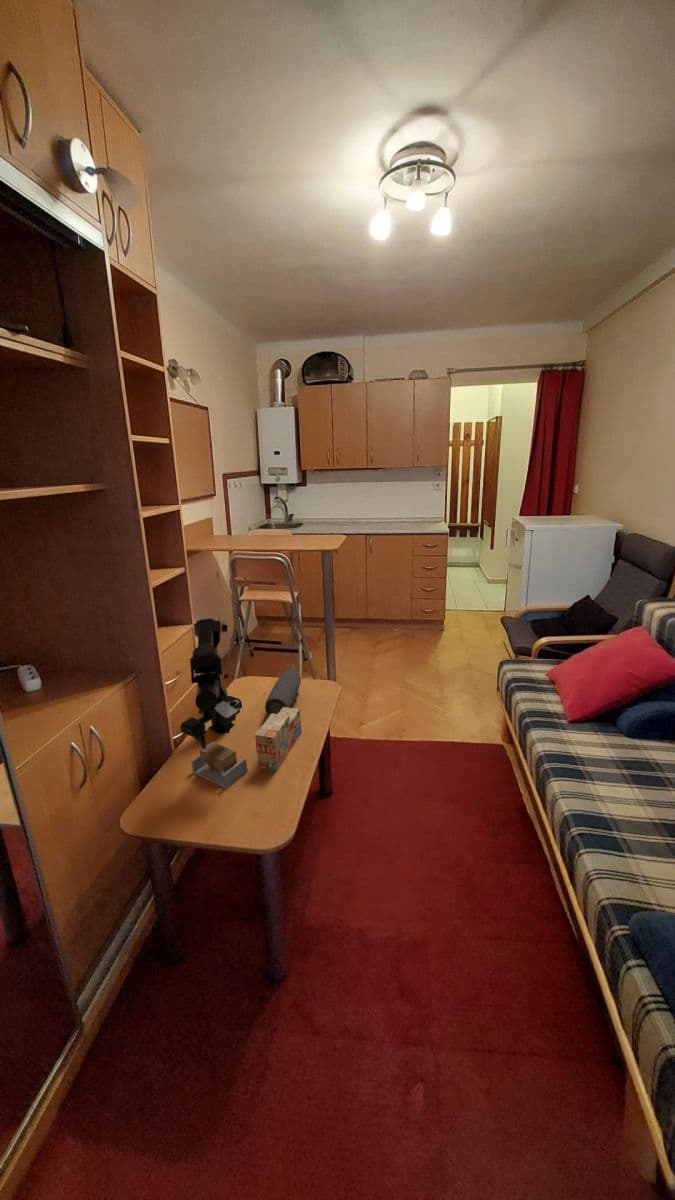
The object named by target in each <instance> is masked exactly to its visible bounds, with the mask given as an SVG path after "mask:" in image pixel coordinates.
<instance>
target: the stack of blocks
mask: <svg viewBox="0 0 675 1200" xmlns="http://www.w3.org/2000/svg"><path fill="white" fill-rule="evenodd" d="M301 734H302V720H301V711H300V708H293V707H290V708H286V707H283V708H282V709H281V711H280V712H279V713H278V714H273V713H272V714H271V715H270V716H269V715H268V717H267V719H266V721H265V722H264V724H262V725H261V727H260V728H259V729H258V730H257V731H256V733H255V734H254V738H255V749H256V755H257V756H256V757H257V764H258V769H260V770H266V771H272V772H278V771H279V769H280V767H282V765H283V763H284V762H285V760H286V759H287V757H288V755H289V753H290V752H291V750H292V748H293V747H294V745H295V744H296V742H297V741H298V739H299V737H300V735H301Z"/></svg>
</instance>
